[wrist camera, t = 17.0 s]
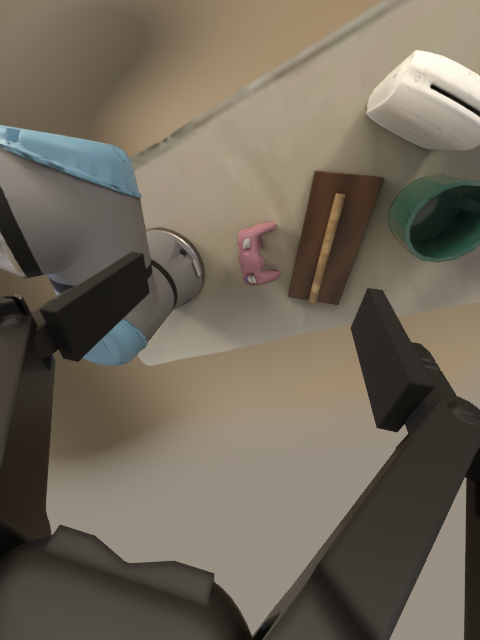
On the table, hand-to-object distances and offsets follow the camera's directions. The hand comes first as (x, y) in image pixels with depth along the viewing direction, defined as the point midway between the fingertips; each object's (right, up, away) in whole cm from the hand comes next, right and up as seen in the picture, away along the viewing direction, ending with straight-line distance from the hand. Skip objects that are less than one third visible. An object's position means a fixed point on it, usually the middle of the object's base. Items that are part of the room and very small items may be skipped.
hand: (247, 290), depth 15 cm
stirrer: (+13, +9, +24) cm, 29 cm away
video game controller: (+3, +10, +28) cm, 30 cm away
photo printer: (+20, +23, +15) cm, 34 cm away
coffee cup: (+25, +14, +20) cm, 35 cm away
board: (+14, +10, +25) cm, 30 cm away
